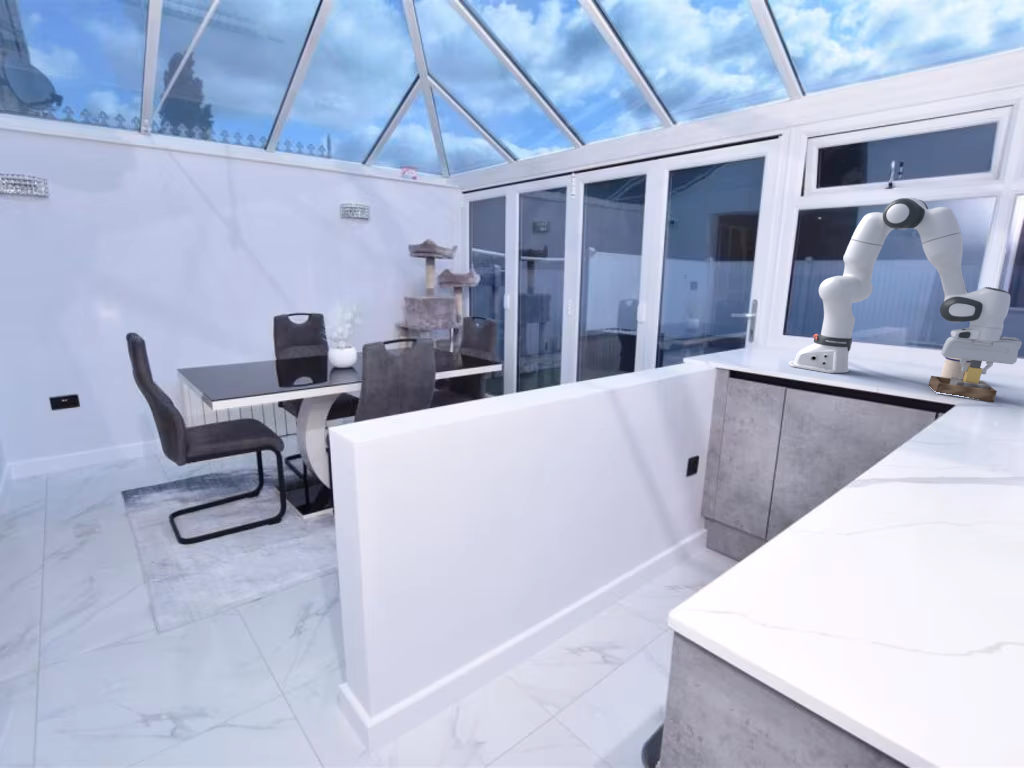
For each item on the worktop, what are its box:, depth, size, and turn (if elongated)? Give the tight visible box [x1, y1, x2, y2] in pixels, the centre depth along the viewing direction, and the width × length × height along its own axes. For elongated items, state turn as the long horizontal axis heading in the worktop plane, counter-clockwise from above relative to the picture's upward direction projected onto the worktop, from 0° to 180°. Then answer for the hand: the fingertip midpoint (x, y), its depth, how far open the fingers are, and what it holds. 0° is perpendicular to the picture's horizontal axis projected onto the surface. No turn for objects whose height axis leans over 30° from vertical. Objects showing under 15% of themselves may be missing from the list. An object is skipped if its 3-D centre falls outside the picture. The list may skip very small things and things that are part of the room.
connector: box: [963, 360, 983, 383], centre depth 185 cm, size 4×4×10 cm
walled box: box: [928, 375, 998, 403], centre depth 187 cm, size 16×14×5 cm
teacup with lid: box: [940, 357, 971, 378], centre depth 210 cm, size 12×9×12 cm
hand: (973, 372), depth 185 cm, fingers closed on connector, 4 cm apart
